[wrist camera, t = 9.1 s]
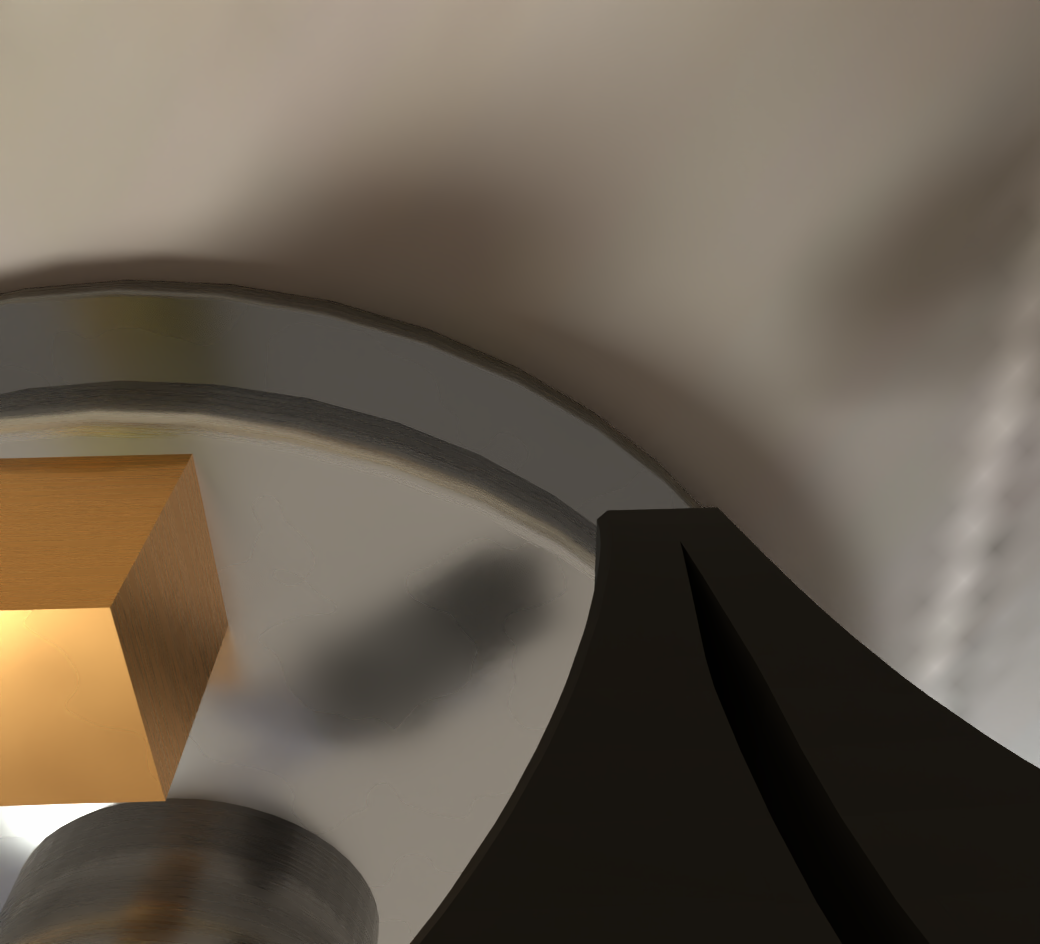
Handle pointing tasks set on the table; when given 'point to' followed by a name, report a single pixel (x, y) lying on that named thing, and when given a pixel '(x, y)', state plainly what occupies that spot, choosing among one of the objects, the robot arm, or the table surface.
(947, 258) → the table surface
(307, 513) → the turntable
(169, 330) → the turntable base
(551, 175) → the table surface
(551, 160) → the table surface
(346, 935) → the cover
